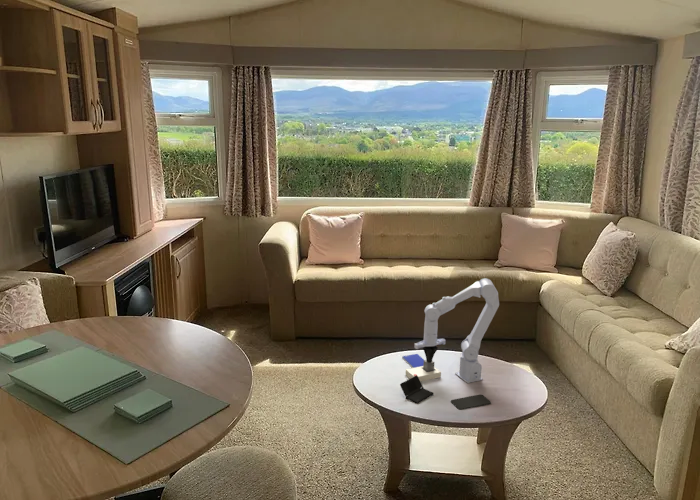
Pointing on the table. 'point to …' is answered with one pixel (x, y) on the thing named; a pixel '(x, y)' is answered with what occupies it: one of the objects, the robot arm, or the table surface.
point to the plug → (428, 366)
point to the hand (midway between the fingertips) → (429, 361)
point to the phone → (470, 402)
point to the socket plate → (423, 373)
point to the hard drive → (414, 360)
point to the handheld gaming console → (415, 390)
